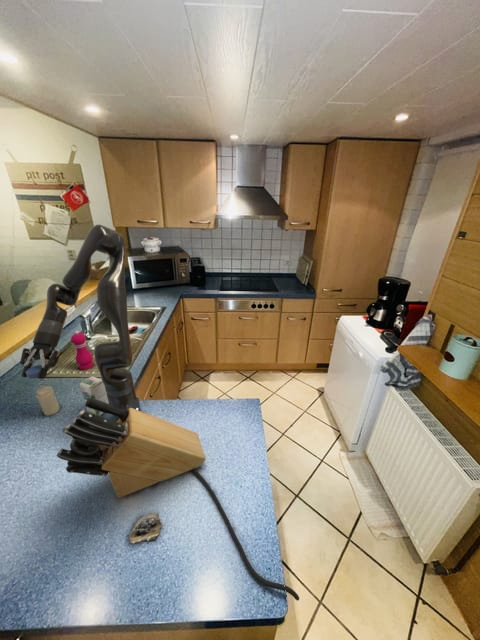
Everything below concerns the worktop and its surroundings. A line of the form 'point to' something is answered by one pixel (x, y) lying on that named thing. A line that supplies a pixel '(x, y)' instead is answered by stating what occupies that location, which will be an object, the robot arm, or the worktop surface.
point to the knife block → (129, 448)
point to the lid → (33, 371)
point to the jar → (47, 400)
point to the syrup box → (94, 392)
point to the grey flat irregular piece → (146, 528)
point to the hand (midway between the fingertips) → (32, 377)
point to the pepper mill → (82, 351)
